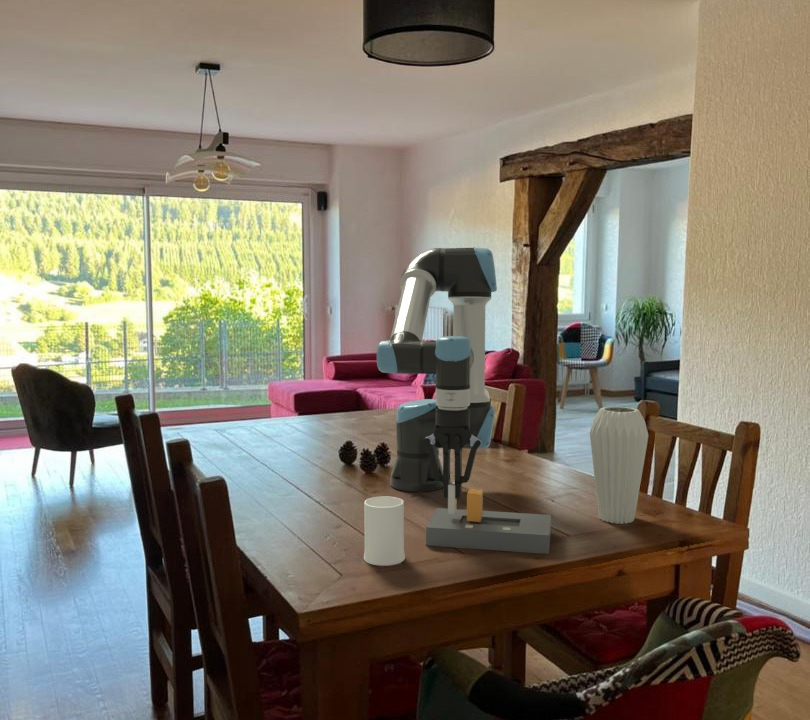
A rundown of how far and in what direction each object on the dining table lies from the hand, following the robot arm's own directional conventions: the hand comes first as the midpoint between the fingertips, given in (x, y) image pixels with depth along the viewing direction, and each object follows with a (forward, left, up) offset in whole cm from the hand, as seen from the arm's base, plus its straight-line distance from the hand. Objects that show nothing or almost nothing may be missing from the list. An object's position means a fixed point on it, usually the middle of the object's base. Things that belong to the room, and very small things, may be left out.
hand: (452, 512), depth 175 cm
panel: (+8, 0, -6) cm, 10 cm away
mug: (-13, -15, -6) cm, 20 cm away
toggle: (+5, 0, -2) cm, 5 cm away
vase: (+36, +20, -6) cm, 42 cm away
